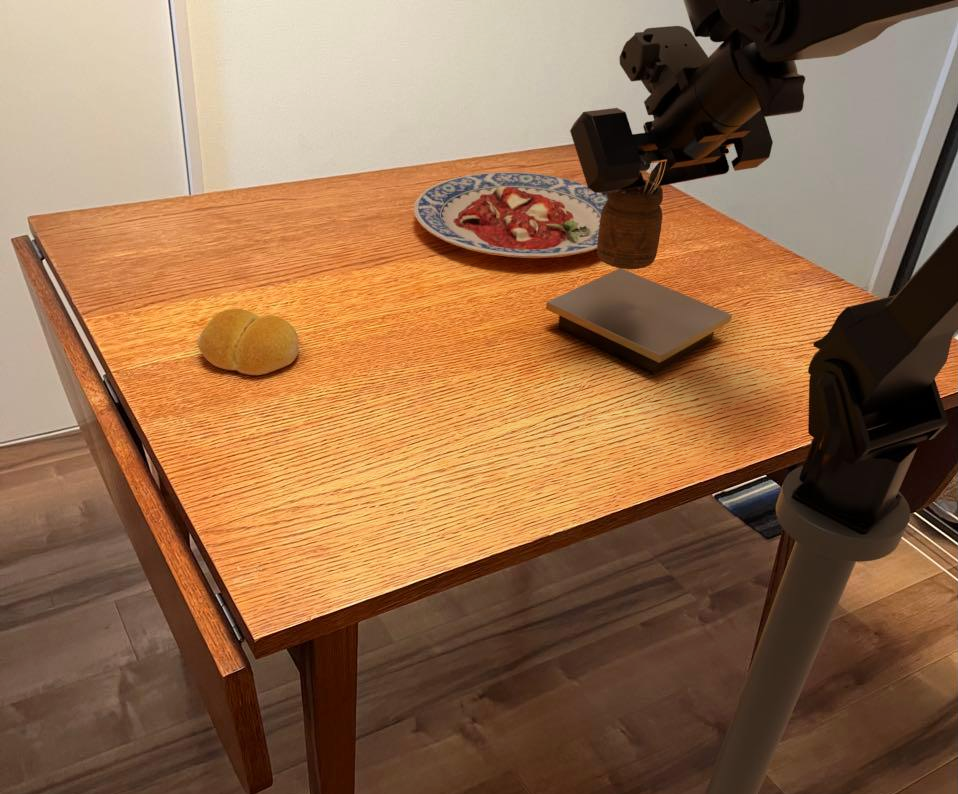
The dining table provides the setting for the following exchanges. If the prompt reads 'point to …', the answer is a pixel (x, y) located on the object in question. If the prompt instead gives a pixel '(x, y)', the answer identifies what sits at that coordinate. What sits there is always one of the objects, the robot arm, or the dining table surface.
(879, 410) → the robot arm
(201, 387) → the dining table surface
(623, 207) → the utensil holder
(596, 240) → the ceramic plate
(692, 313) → the platform
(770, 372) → the dining table surface
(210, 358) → the bread roll
